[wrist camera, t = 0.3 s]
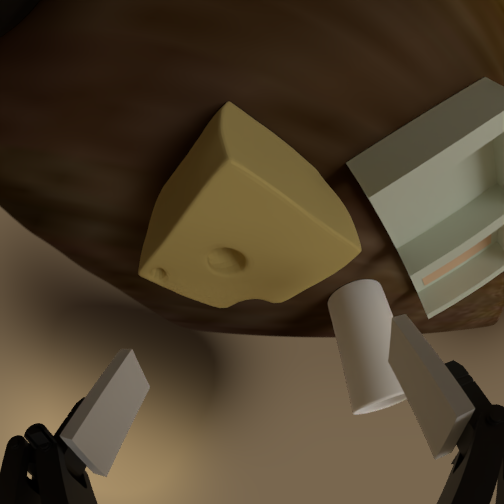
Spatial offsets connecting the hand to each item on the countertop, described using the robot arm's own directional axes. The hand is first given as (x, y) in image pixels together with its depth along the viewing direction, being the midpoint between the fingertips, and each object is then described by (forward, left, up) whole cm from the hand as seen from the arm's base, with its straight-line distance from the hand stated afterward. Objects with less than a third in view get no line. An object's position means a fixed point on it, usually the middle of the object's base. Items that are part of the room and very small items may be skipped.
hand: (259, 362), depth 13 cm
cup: (+21, +12, -16) cm, 29 cm away
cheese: (-1, 0, -16) cm, 16 cm away
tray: (+7, +24, -16) cm, 29 cm away
